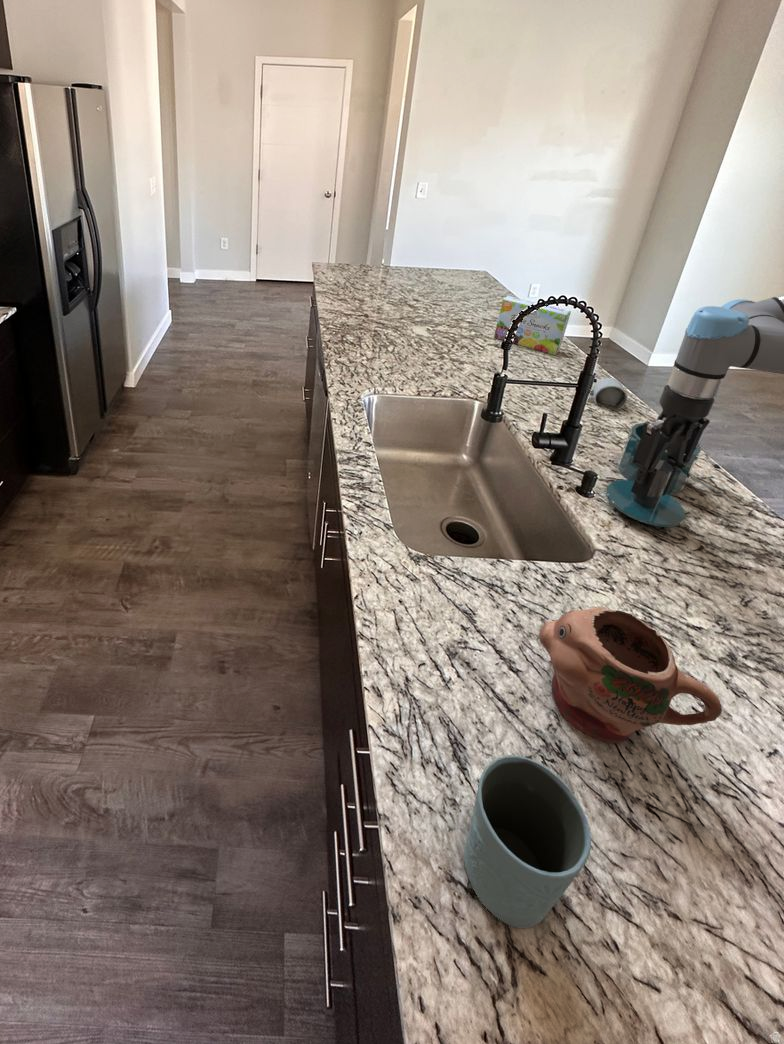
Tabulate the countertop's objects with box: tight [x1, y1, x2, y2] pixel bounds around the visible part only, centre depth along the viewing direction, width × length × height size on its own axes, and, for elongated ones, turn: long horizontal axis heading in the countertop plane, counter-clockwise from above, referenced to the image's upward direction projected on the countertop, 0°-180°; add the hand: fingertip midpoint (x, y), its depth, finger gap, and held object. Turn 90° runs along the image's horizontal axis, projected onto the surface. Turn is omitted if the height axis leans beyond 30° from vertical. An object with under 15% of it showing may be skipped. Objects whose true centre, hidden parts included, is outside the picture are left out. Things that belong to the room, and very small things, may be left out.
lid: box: [605, 460, 686, 528], centre depth 107 cm, size 14×14×10 cm
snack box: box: [493, 295, 572, 356], centre depth 185 cm, size 21×6×15 cm, turn 49°
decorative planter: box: [538, 606, 723, 744], centre depth 70 cm, size 20×12×14 cm, turn 63°
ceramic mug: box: [587, 377, 628, 410], centre depth 150 cm, size 11×8×8 cm
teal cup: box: [463, 754, 592, 929], centre depth 55 cm, size 10×10×12 cm
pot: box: [617, 422, 702, 495], centre depth 119 cm, size 13×13×10 cm
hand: (648, 492), depth 108 cm, fingers closed on lid, 4 cm apart
